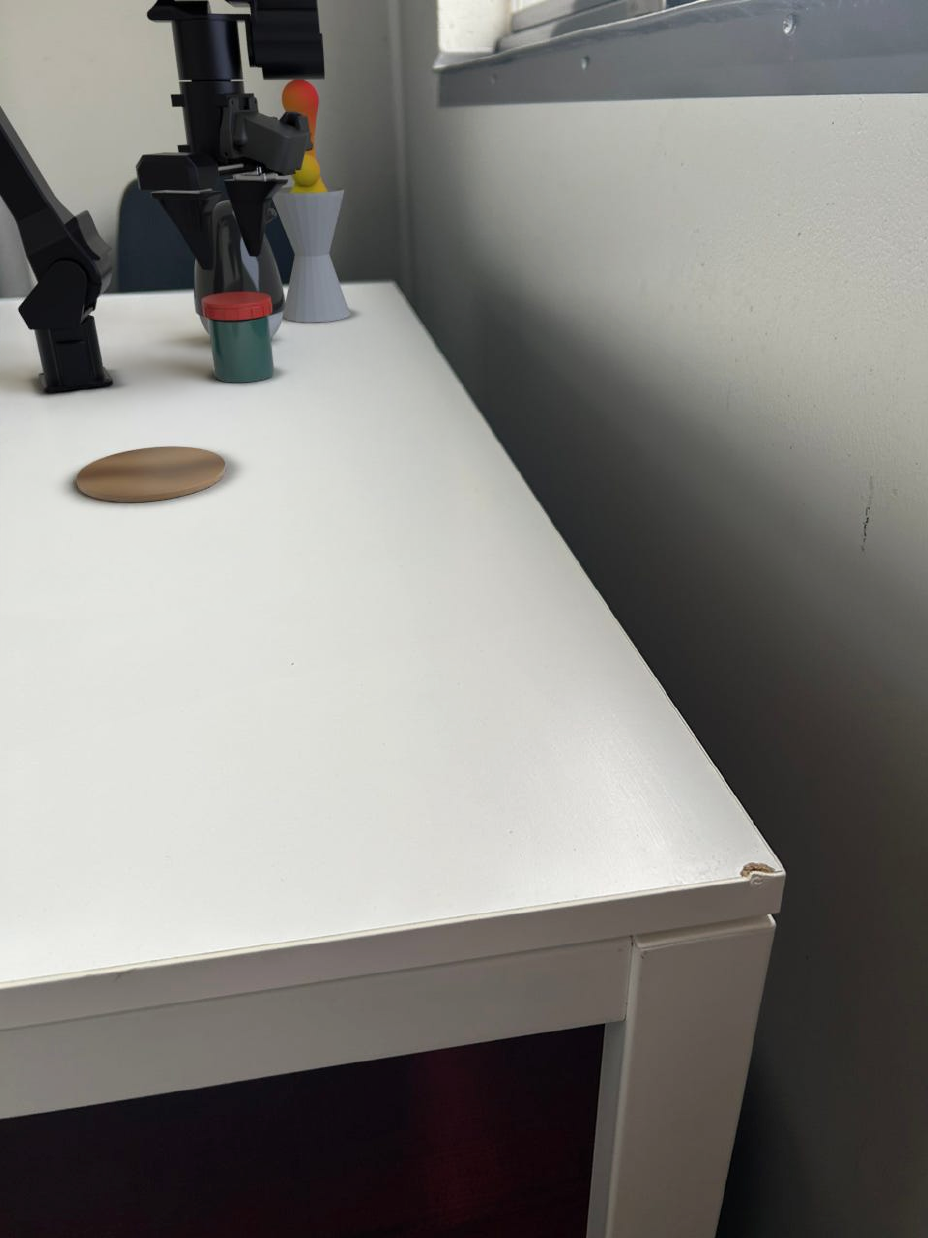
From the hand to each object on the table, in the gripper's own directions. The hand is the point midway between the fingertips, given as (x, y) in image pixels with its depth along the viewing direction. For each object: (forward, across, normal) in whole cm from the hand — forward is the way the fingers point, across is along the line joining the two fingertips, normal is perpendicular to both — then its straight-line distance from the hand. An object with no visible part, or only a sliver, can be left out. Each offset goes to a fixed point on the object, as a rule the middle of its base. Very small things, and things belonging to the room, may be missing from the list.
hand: (232, 262), depth 96 cm
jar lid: (+4, 0, 0) cm, 4 cm away
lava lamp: (+11, +29, +6) cm, 32 cm away
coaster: (+11, -28, -8) cm, 32 cm away
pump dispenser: (+11, +13, +8) cm, 19 cm away
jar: (+11, 0, 0) cm, 11 cm away
